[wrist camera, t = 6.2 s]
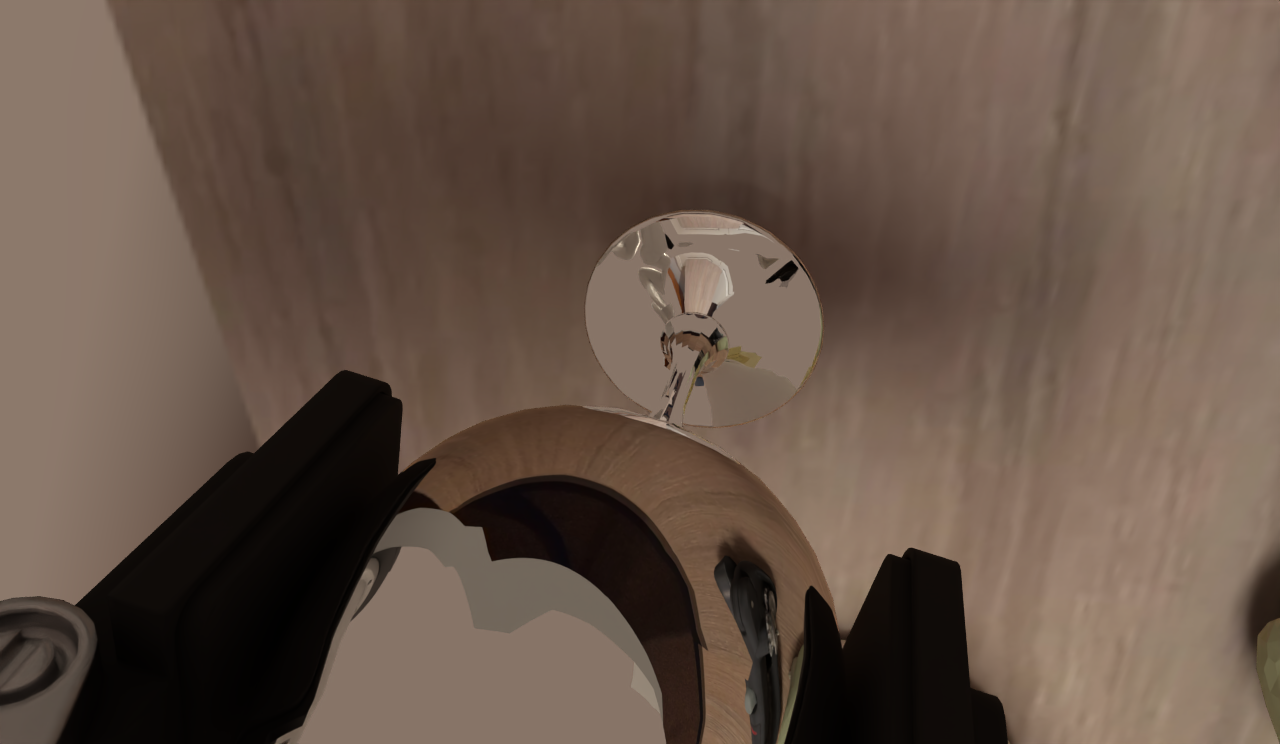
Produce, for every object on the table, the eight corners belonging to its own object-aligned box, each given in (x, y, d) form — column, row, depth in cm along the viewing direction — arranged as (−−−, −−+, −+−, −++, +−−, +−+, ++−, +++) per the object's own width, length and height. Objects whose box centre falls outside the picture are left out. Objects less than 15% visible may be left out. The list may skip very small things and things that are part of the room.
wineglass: (930, 344, 16) (1008, 1181, 6) (697, 499, 19) (492, 1246, 9) (705, 100, 15) (351, 650, 5) (492, 305, 18) (-9, 921, 8)
